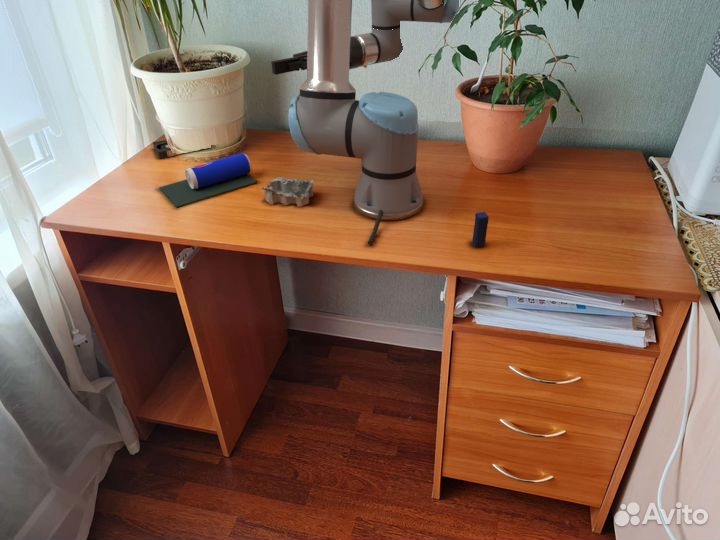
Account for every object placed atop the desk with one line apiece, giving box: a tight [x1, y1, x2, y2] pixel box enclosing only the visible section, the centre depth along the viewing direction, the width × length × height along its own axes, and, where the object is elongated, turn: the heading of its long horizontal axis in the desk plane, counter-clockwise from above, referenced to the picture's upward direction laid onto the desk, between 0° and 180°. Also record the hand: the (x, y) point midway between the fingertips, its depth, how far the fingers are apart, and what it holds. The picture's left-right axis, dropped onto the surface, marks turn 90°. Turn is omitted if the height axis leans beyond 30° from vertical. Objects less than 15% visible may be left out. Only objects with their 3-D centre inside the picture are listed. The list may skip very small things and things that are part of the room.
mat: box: [159, 174, 258, 209], centre depth 126 cm, size 20×12×1 cm, turn 126°
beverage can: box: [184, 152, 253, 189], centre depth 126 cm, size 5×5×15 cm
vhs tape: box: [152, 139, 179, 160], centre depth 145 cm, size 14×8×2 cm, turn 117°
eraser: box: [472, 211, 490, 248], centre depth 100 cm, size 2×2×7 cm
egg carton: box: [261, 176, 314, 207], centre depth 119 cm, size 11×8×4 cm
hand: (273, 68), depth 122 cm, fingers closed
